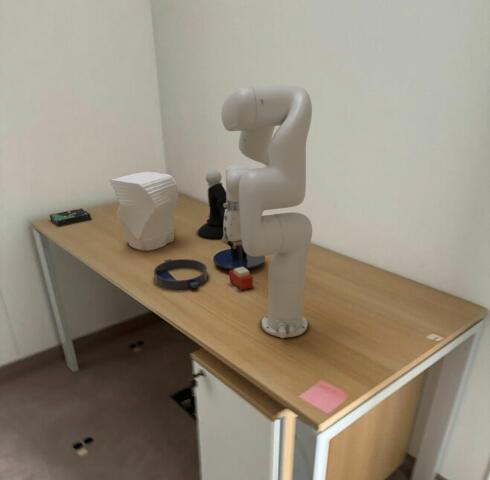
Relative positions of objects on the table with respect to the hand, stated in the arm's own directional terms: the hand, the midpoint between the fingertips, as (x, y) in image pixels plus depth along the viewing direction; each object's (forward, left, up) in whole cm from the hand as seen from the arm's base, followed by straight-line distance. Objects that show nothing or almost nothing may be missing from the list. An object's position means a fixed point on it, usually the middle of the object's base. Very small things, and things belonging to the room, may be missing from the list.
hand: (239, 256), depth 161 cm
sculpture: (+30, +7, -4) cm, 31 cm away
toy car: (-16, -1, -3) cm, 17 cm away
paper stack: (+23, +32, -4) cm, 39 cm away
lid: (0, 0, -1) cm, 1 cm away
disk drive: (+51, +75, -4) cm, 91 cm away
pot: (-10, +19, -3) cm, 22 cm away
